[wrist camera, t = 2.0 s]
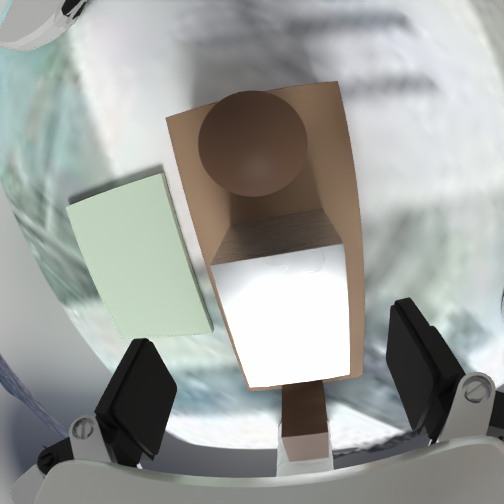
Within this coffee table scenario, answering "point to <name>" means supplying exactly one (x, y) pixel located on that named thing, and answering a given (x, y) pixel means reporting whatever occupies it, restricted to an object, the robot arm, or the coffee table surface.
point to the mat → (140, 260)
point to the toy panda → (37, 22)
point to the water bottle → (301, 466)
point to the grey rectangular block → (285, 297)
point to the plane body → (277, 206)
